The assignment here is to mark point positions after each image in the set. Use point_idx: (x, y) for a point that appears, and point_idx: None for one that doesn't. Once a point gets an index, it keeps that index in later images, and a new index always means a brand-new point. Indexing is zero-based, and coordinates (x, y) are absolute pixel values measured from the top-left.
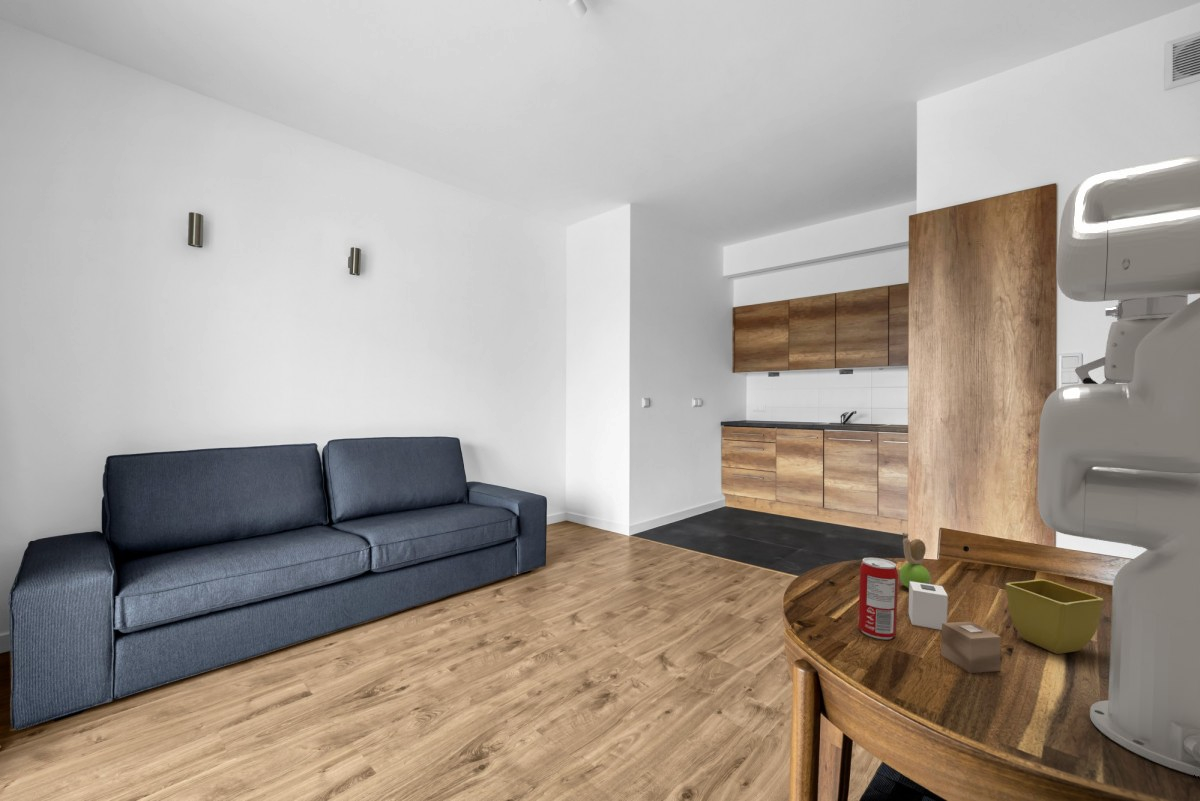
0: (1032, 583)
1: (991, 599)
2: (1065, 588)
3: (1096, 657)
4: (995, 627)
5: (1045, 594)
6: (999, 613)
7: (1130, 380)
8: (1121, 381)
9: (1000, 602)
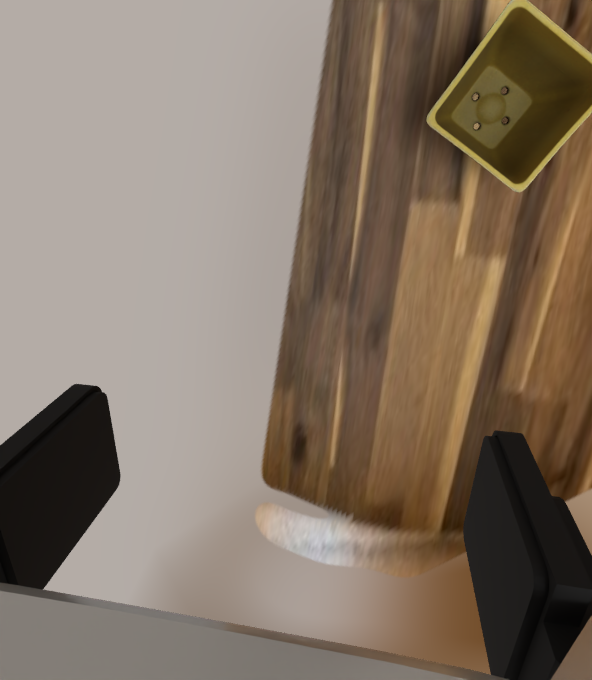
0: (545, 154)
1: (550, 312)
2: (483, 159)
3: (425, 109)
4: (574, 136)
5: (508, 178)
6: (550, 233)
7: (393, 663)
8: (491, 678)
9: (536, 304)
